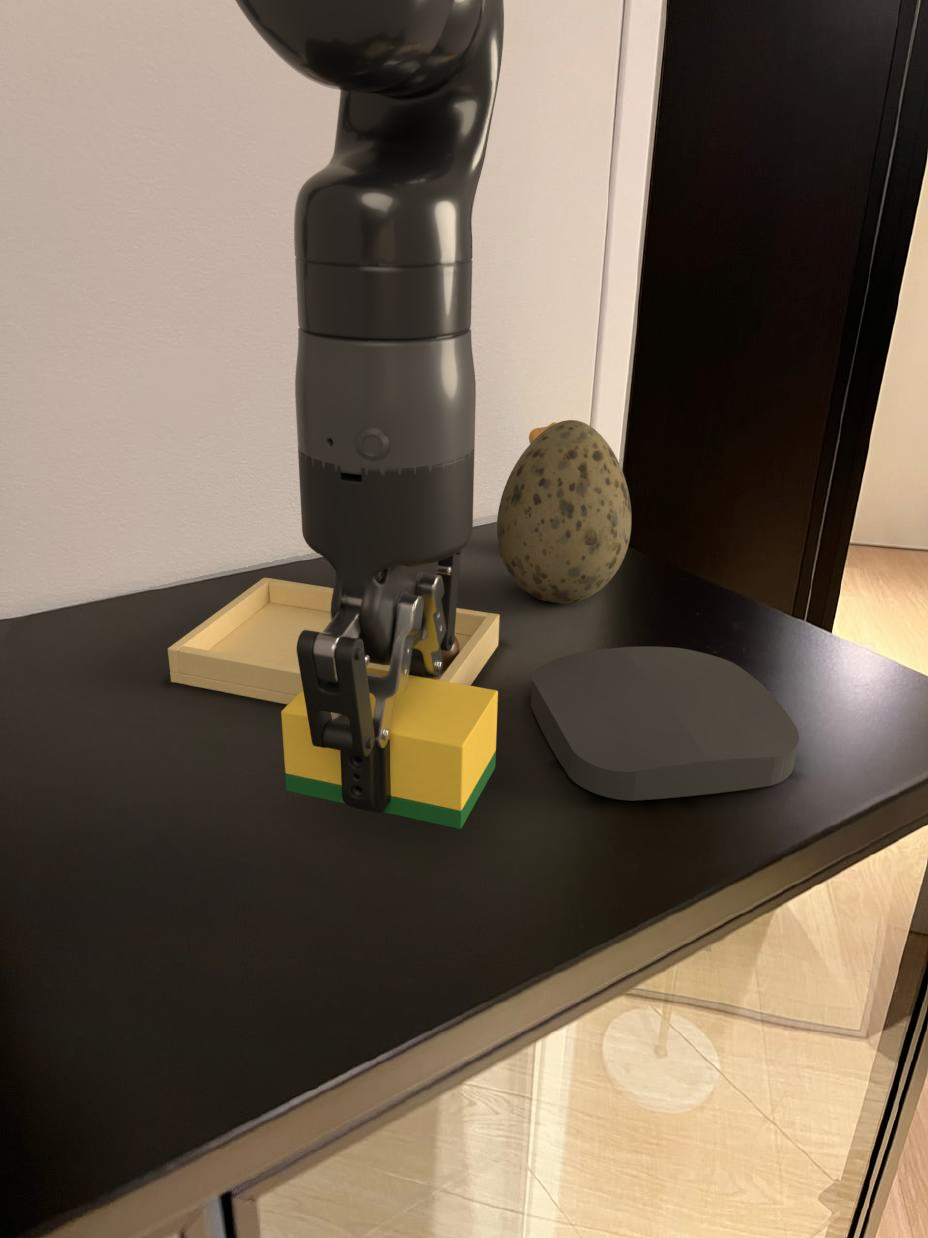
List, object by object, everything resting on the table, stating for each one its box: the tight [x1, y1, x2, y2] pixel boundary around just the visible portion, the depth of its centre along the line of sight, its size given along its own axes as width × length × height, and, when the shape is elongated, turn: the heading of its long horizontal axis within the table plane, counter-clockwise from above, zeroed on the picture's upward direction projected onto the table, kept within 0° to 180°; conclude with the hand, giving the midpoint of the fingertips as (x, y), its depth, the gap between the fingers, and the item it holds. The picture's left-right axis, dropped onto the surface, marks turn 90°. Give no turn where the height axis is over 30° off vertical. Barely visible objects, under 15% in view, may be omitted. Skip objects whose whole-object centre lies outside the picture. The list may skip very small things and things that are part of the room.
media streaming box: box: [530, 645, 800, 802], centre depth 65 cm, size 15×15×3 cm
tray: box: [167, 577, 500, 706], centre depth 73 cm, size 20×14×3 cm
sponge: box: [280, 667, 499, 830], centre depth 50 cm, size 9×6×4 cm, turn 72°
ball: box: [441, 635, 460, 672], centre depth 70 cm, size 3×3×3 cm
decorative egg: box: [496, 419, 632, 605], centre depth 82 cm, size 11×11×15 cm
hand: (391, 770), depth 50 cm, fingers closed on sponge, 5 cm apart
